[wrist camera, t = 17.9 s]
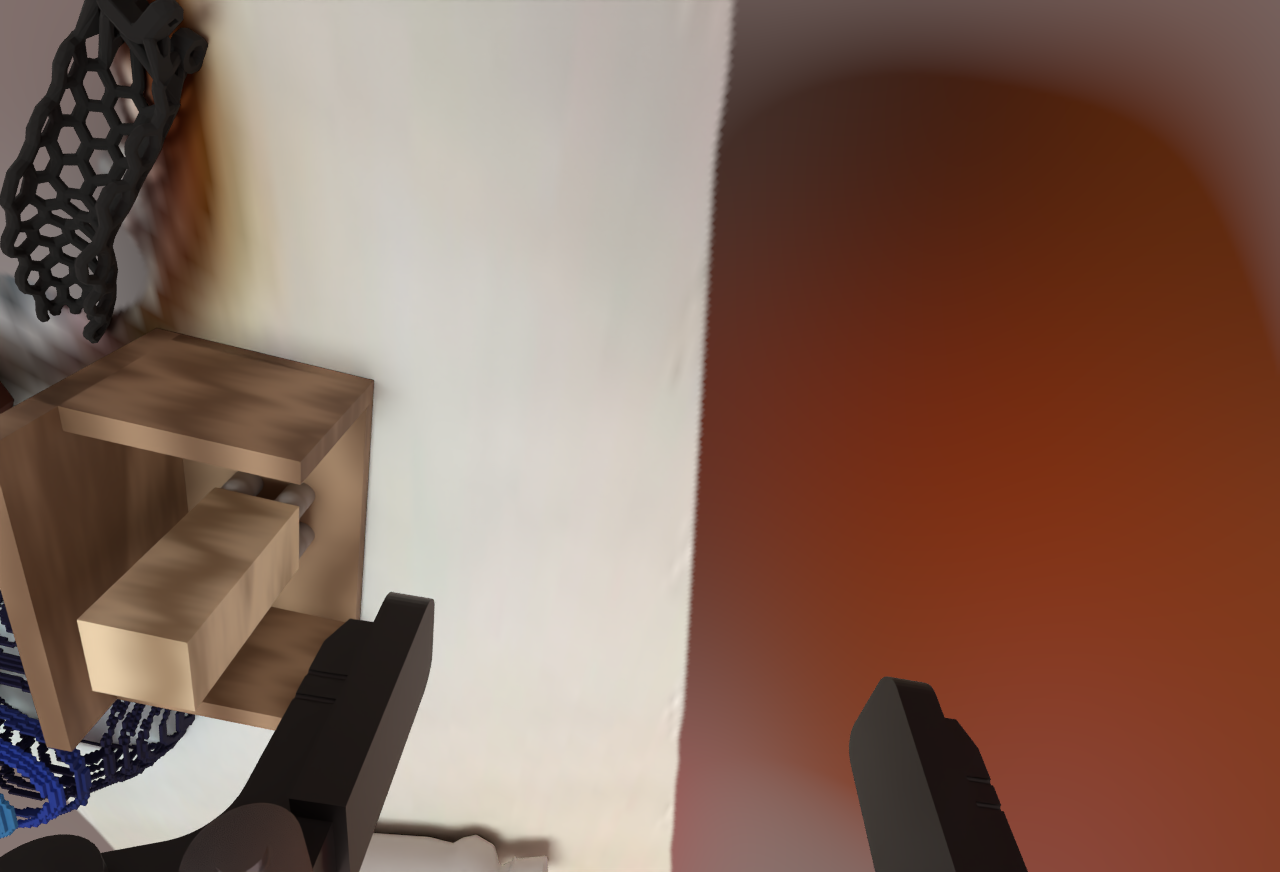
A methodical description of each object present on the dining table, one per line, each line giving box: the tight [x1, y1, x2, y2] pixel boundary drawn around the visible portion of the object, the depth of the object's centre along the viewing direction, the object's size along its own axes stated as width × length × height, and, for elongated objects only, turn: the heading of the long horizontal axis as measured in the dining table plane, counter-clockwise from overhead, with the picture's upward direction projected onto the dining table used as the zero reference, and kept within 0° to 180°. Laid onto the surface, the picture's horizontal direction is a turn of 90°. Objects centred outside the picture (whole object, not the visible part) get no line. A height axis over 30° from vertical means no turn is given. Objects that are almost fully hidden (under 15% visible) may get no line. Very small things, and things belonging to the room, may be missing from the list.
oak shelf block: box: [77, 487, 299, 711], centre depth 42 cm, size 6×6×12 cm
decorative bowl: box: [0, 590, 195, 839], centre depth 55 cm, size 20×20×14 cm
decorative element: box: [0, 0, 208, 343], centre depth 37 cm, size 22×5×6 cm, turn 146°
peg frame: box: [0, 328, 374, 752], centre depth 44 cm, size 14×23×14 cm, turn 166°
